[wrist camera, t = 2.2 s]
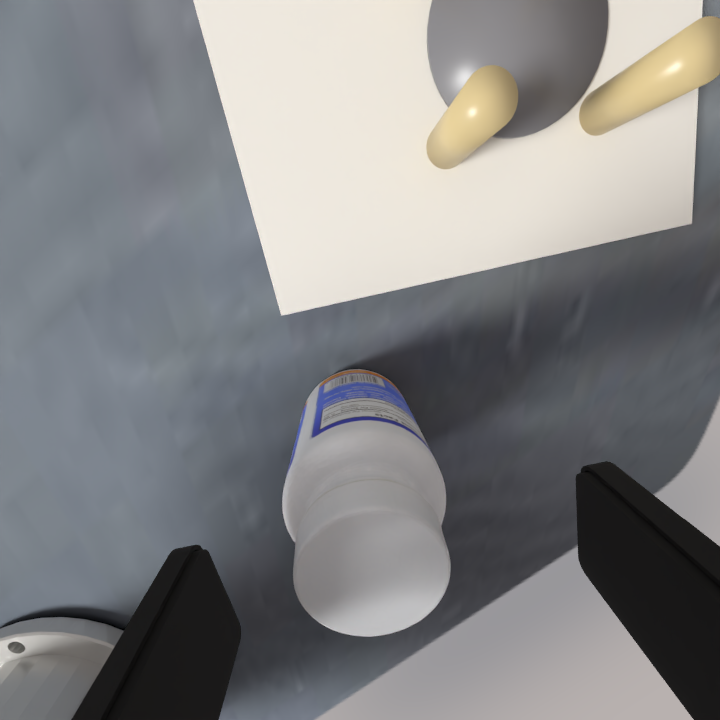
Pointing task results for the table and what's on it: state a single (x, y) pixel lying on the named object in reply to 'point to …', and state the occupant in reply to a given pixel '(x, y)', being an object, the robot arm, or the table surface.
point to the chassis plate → (370, 151)
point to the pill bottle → (365, 509)
